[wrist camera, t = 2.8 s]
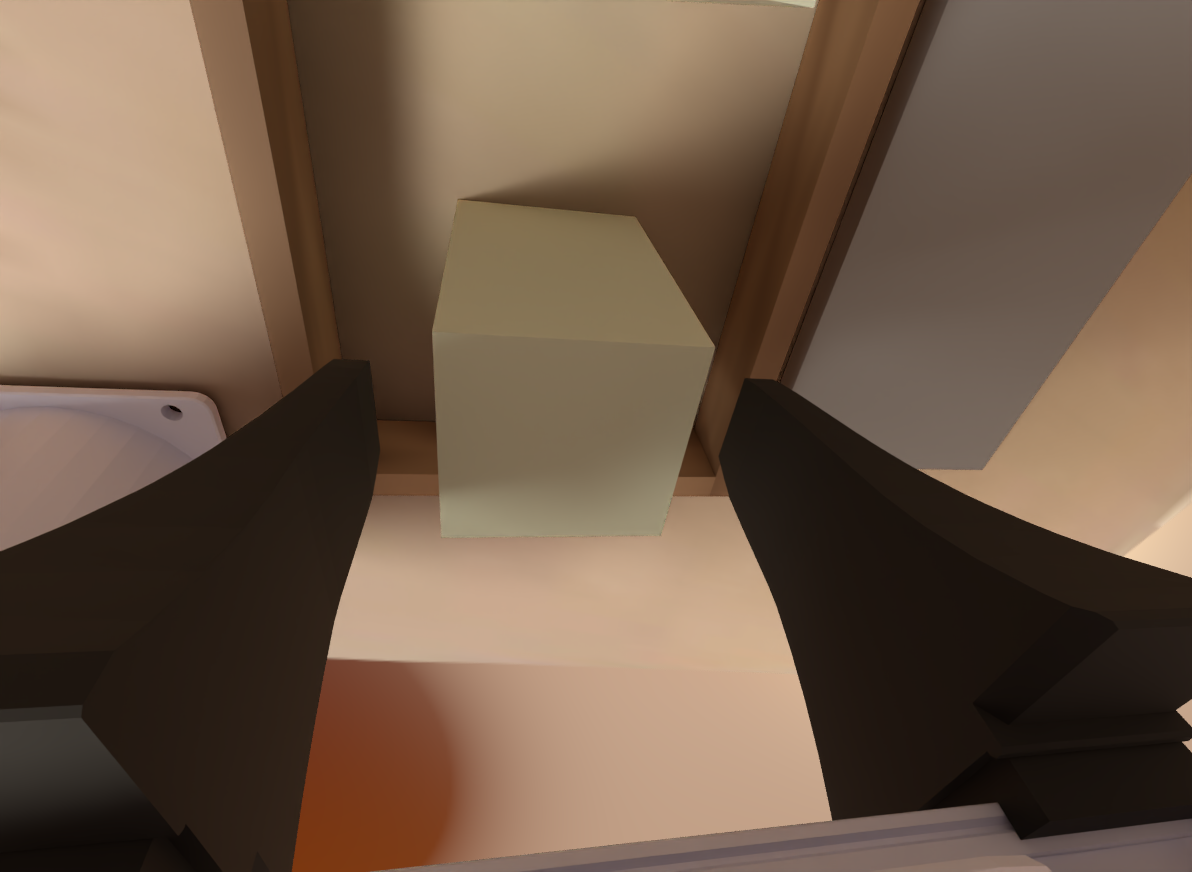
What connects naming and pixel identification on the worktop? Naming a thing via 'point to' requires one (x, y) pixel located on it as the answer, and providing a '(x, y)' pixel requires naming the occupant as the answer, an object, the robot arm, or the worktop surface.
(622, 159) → the worktop surface
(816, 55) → the walnut tray
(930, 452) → the slate board
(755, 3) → the plain box
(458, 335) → the olive beige rectangular block
